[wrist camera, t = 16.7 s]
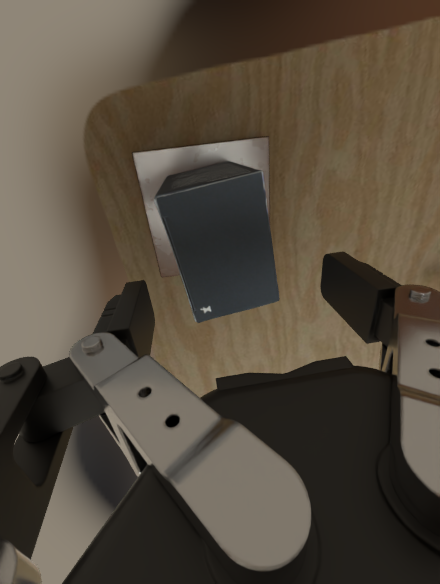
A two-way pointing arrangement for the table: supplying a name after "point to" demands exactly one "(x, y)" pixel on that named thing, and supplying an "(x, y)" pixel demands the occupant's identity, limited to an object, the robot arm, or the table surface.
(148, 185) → the board
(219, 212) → the box
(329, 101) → the table surface
